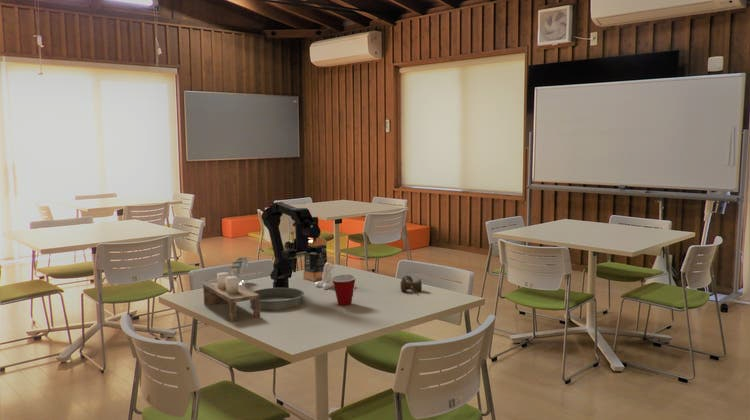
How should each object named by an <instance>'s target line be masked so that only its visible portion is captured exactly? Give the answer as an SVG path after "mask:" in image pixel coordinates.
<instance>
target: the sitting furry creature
mask: <svg viewBox="0 0 750 420" xmlns="http://www.w3.org/2000/svg"><path fill="white" fill-rule="evenodd" d="M333 269H334V266H333V265H332V263H330V262H327V263H326V264H325V266H324V270H323V271H324V272H323V274H322V280H318V281H315V282H314V287H317V288H318V287H319V288H322V289H323V290H328V289H330V288H334V287H333V286H334V283H333V281H332V279H331V278H332V277H333V274H332V272H331V271H332V270H333Z"/></svg>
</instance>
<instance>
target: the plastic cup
mask: <svg viewBox="0 0 750 420" xmlns="http://www.w3.org/2000/svg"><path fill="white" fill-rule="evenodd" d="M331 279H332V281H333V283H334V287H333V288H334V291H335V296H336V300H337V304H338V305H339V306H350V305H351V304H352V303H353V296H354V288H355V283H356V279H357V275H354V274H347V273H346V274H345V273H344V274H337V275H334V276H332V278H331Z"/></svg>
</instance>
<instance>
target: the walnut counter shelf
mask: <svg viewBox="0 0 750 420" xmlns="http://www.w3.org/2000/svg"><path fill="white" fill-rule="evenodd" d="M202 285H203V287H202V289H203V305H205V306H207V305H214V304H218V303H220V304H221V303H229V304H228V306H229V307H228V310H229V312H228V313H229V321H230V322H232V323H233V322H237V303H238V302H239V303H240V302H245V301H250V300H253V308H252V309H253V310H252V311H253V314H252V315H253V317H254V318H259V317H261V309H260V295H259V294H257V293H254V292H253V291H252V290H250V289H249V288H246V287H245V286H244V287H242V286H243V285H241V286H240V285H238V292H237V293H226V289H219V288H218V283H217V282H208V283H203V284H202Z"/></svg>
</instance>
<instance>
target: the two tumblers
mask: <svg viewBox="0 0 750 420" xmlns="http://www.w3.org/2000/svg"><path fill="white" fill-rule="evenodd" d="M216 277H217V280H216V281H217V283H218V288H219V289H226V293H237V292H238V277H237V276H232V275H230V272H226V271H225V272H224V271H223V272H218V273H217V274H216Z"/></svg>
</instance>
